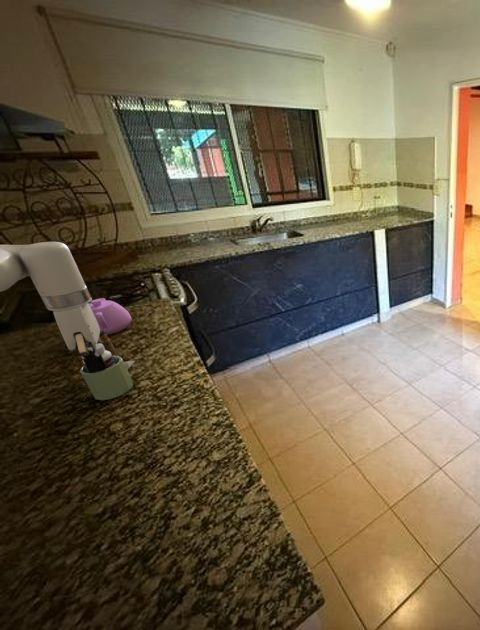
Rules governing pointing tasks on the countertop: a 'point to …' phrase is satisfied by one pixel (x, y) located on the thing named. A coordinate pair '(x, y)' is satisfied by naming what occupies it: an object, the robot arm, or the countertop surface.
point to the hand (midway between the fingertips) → (99, 364)
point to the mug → (108, 381)
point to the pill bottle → (103, 356)
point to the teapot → (110, 315)
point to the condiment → (110, 348)
